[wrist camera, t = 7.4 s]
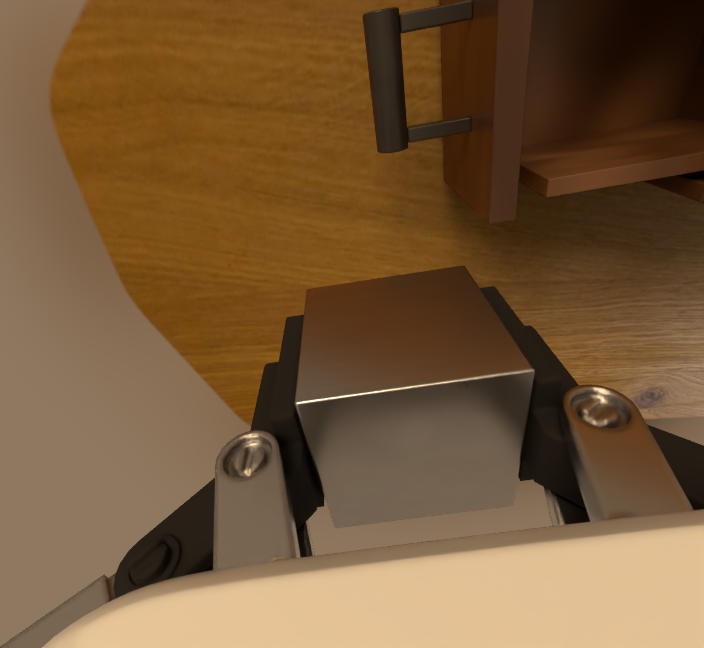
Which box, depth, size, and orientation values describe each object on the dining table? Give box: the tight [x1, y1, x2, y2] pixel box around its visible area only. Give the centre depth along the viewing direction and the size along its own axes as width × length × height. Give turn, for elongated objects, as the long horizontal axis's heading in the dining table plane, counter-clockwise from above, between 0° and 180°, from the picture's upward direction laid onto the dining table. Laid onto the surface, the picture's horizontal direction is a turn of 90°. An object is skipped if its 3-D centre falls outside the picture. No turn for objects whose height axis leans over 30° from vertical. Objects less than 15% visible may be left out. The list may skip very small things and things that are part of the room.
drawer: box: [363, 0, 704, 224], centre depth 17 cm, size 18×11×8 cm, turn 99°
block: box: [295, 266, 535, 528], centre depth 10 cm, size 4×4×4 cm
